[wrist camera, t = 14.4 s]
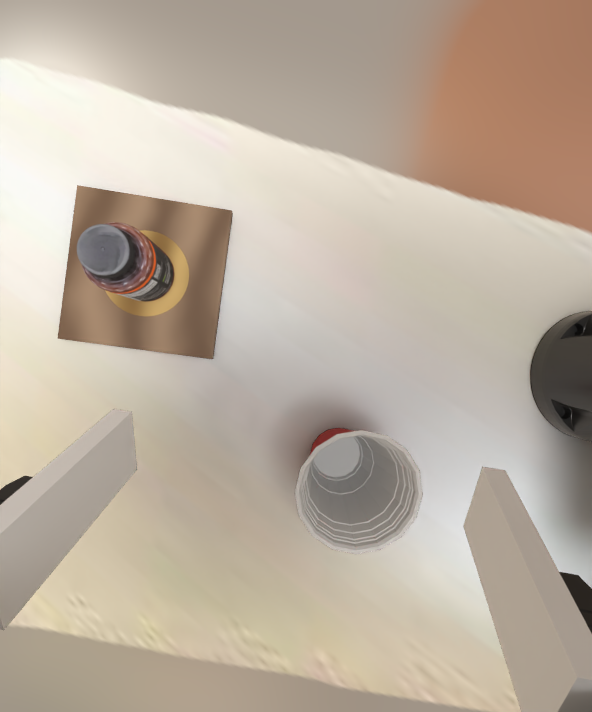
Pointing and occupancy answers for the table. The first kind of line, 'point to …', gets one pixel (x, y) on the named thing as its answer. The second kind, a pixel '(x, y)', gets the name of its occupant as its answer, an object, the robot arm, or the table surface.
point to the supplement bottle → (125, 261)
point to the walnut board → (187, 294)
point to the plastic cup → (358, 490)
